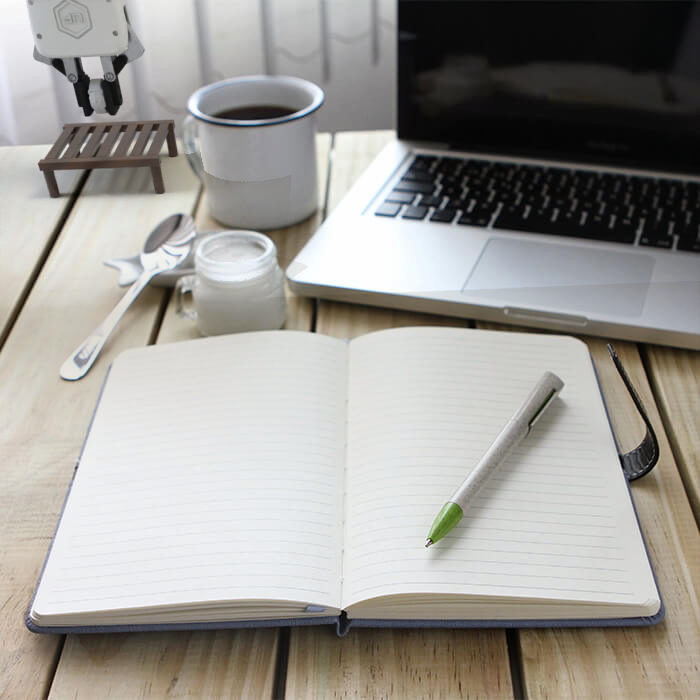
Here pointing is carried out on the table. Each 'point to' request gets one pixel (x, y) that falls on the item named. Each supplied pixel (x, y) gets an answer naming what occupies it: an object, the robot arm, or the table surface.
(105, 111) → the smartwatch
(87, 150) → the rack
